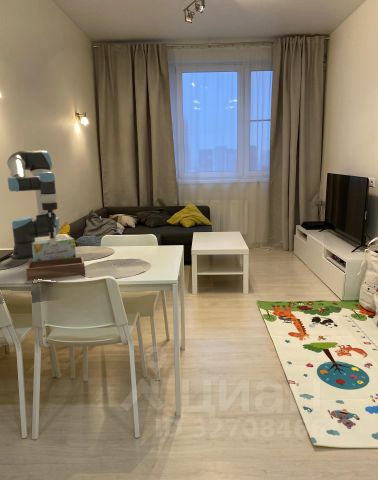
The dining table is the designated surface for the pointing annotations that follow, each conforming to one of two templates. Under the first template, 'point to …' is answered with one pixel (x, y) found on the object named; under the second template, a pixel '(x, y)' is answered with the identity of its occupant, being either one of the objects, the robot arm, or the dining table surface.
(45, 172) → the robot arm
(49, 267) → the dark brown wooden tray
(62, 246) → the snack box
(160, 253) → the dining table surface
